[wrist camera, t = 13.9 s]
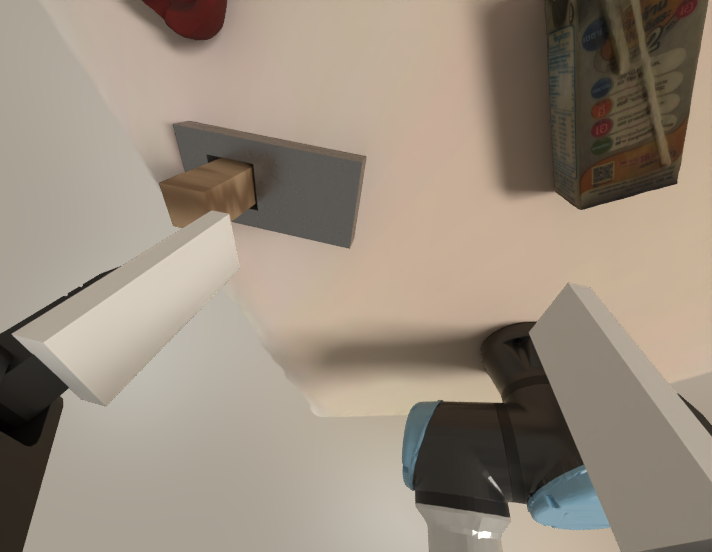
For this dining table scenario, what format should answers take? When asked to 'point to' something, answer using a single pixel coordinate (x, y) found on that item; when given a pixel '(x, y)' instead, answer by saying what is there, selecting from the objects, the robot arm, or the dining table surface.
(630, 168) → the beverage carton
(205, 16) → the dark red curved piece
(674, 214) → the dining table surface
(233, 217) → the walnut block
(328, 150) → the steel rail
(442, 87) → the dining table surface
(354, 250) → the dining table surface
